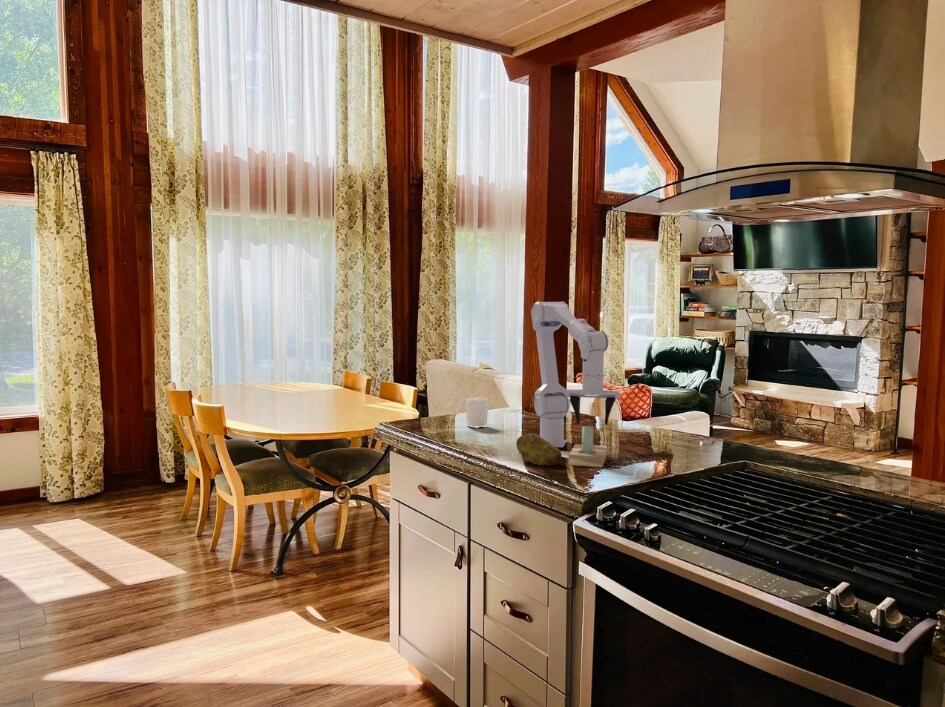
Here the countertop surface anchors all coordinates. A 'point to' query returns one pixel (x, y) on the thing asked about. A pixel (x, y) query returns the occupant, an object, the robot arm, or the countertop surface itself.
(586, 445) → the peg
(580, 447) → the socket block
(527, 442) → the potato
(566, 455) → the mat
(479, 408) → the white cup
